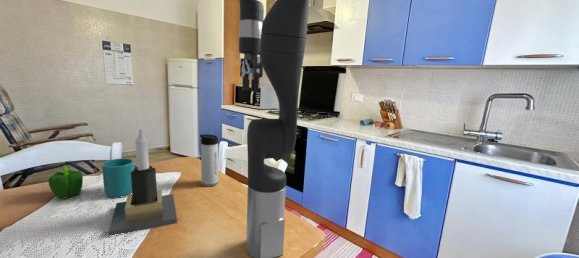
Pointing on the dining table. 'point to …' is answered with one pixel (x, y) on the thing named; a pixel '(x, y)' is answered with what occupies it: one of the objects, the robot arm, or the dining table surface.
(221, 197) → the dining table surface
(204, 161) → the travel mug
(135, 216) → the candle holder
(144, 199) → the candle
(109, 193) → the cup
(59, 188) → the bell pepper
